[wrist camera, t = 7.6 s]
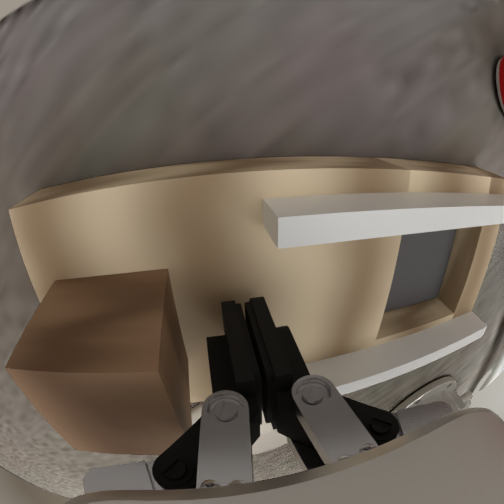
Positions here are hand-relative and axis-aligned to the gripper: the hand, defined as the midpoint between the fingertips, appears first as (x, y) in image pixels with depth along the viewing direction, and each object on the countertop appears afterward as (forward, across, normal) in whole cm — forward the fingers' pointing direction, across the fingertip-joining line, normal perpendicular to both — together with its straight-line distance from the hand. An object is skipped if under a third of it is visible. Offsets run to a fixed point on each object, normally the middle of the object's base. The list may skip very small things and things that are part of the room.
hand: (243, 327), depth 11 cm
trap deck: (+4, -4, 0) cm, 6 cm away
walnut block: (+1, +5, 0) cm, 5 cm away
